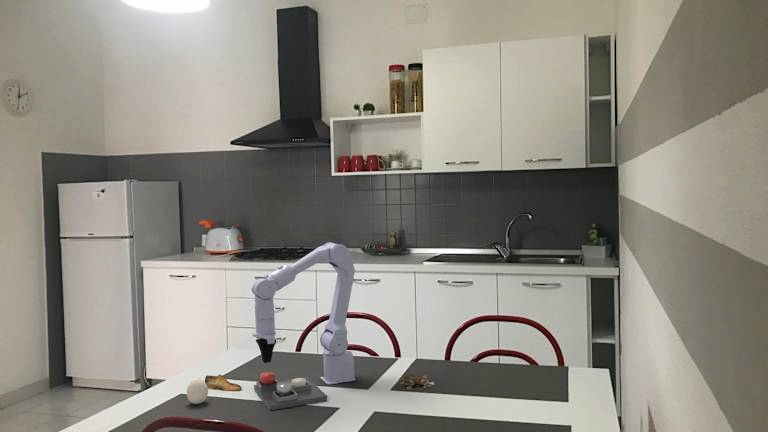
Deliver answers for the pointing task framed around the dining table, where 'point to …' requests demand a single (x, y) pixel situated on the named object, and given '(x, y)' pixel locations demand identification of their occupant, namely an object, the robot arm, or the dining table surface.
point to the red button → (267, 378)
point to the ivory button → (298, 382)
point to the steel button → (284, 388)
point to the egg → (197, 391)
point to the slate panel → (296, 398)
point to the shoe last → (221, 383)
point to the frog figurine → (415, 381)
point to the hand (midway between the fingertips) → (267, 362)
